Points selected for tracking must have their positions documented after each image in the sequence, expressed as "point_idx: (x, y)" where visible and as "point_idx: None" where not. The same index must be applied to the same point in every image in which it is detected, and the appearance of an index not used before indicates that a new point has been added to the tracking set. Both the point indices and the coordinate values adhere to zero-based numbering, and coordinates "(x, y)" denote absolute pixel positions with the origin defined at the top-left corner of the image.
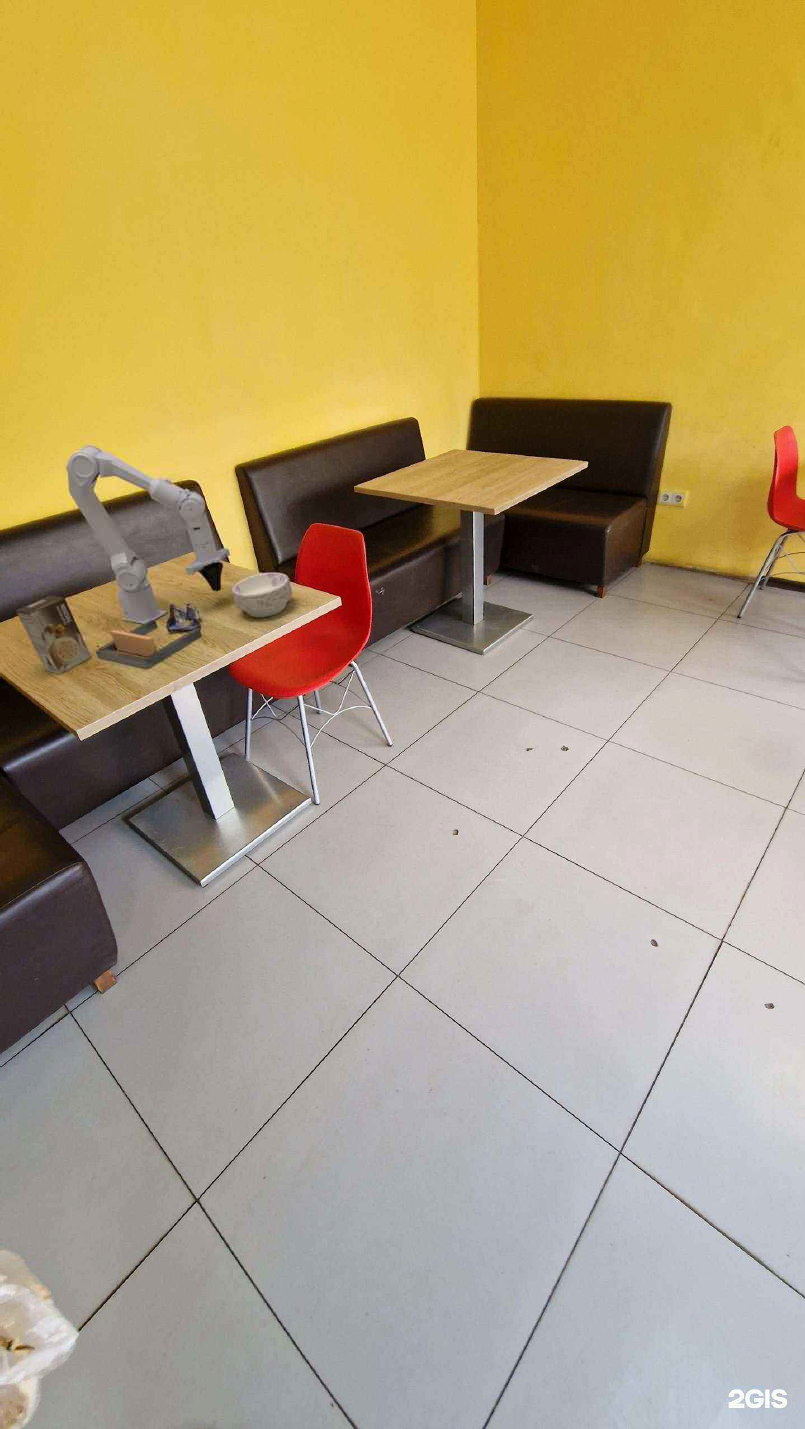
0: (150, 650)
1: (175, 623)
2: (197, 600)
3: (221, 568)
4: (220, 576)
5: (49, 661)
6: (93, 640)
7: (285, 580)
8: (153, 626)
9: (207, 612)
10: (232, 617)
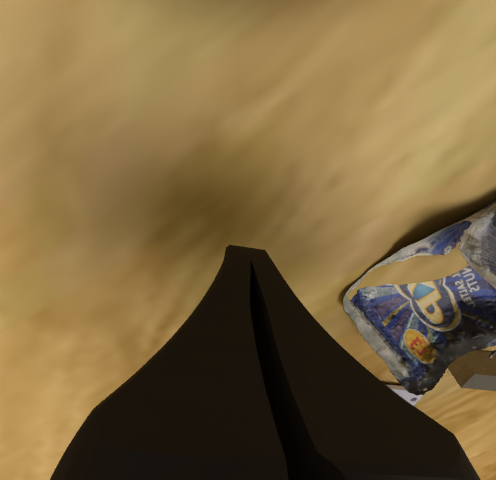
0: None
1: (465, 303)
2: None
3: (161, 388)
4: (207, 310)
5: None
6: (492, 438)
7: None
8: (476, 358)
9: (328, 237)
10: (433, 10)
